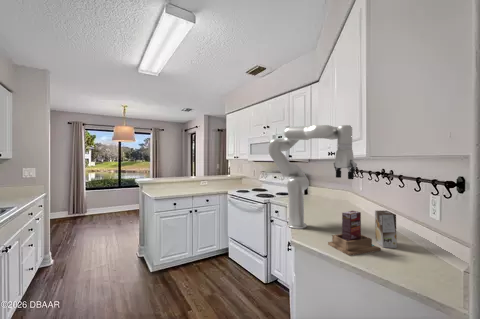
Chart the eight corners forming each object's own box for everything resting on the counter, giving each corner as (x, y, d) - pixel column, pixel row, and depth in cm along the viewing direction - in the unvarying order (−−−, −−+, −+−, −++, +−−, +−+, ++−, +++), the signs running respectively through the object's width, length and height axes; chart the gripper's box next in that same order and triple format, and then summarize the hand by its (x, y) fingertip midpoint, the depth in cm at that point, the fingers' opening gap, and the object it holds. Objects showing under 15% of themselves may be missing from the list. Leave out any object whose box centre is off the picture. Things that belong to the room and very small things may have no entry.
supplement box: (351, 248, 104) (350, 214, 104) (341, 245, 108) (341, 212, 108) (361, 244, 109) (361, 212, 109) (352, 241, 113) (351, 210, 113)
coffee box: (397, 248, 107) (397, 214, 107) (382, 247, 108) (382, 214, 108) (388, 241, 116) (387, 210, 116) (374, 240, 117) (374, 210, 117)
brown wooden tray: (328, 244, 113) (327, 234, 113) (356, 240, 118) (356, 230, 118) (349, 255, 100) (349, 243, 100) (380, 250, 105) (380, 239, 105)
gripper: (328, 148, 133) (328, 177, 133) (350, 146, 116) (350, 180, 116) (339, 148, 135) (339, 176, 135) (362, 147, 118) (362, 179, 118)
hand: (344, 178), depth 126 cm, fingers open, 9 cm apart
